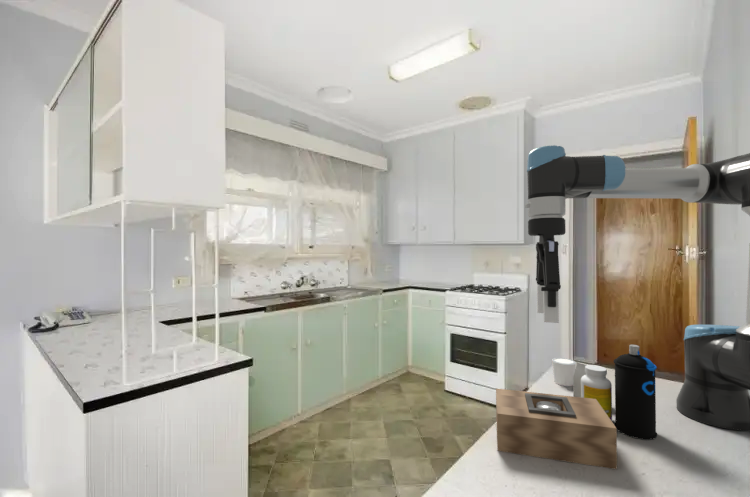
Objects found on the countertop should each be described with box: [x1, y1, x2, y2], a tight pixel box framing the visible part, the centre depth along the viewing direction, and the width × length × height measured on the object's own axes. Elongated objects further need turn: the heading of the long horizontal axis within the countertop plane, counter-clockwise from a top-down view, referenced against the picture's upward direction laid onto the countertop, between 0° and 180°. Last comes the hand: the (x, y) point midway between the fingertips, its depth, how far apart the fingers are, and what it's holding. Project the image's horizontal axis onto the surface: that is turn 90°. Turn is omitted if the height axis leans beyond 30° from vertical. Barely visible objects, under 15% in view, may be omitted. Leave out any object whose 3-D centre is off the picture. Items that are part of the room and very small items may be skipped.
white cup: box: [551, 357, 577, 387], centre depth 113 cm, size 7×7×7 cm
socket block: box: [495, 388, 618, 470], centre depth 79 cm, size 22×14×9 cm, turn 72°
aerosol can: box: [613, 344, 658, 441], centre depth 84 cm, size 8×8×20 cm
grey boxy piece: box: [572, 361, 587, 397], centre depth 100 cm, size 4×7×10 cm, turn 30°
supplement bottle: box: [581, 364, 613, 422], centre depth 90 cm, size 7×7×13 cm
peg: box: [536, 401, 561, 411], centre depth 79 cm, size 5×5×8 cm
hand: (547, 317), depth 79 cm, fingers open, 10 cm apart
